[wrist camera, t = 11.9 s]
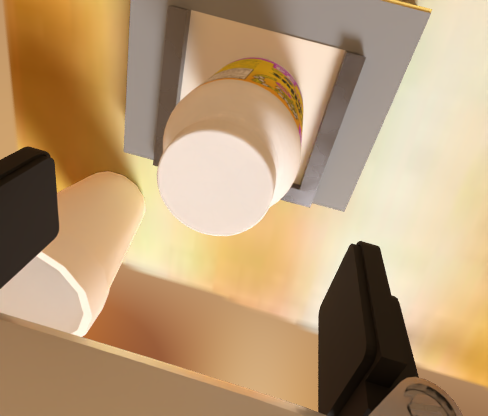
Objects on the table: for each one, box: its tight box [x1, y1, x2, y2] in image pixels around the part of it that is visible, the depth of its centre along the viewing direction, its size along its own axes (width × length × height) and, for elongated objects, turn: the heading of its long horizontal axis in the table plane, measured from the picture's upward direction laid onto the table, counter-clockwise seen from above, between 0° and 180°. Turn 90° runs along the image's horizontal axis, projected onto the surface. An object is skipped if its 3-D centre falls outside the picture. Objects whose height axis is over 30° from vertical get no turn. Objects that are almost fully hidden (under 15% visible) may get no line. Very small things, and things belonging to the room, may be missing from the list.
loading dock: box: [124, 0, 432, 212], centre depth 26 cm, size 18×14×3 cm
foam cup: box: [0, 171, 146, 337], centre depth 29 cm, size 10×9×13 cm
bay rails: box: [153, 5, 366, 207], centre depth 25 cm, size 12×11×1 cm
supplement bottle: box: [157, 57, 303, 236], centre depth 20 cm, size 7×7×13 cm
